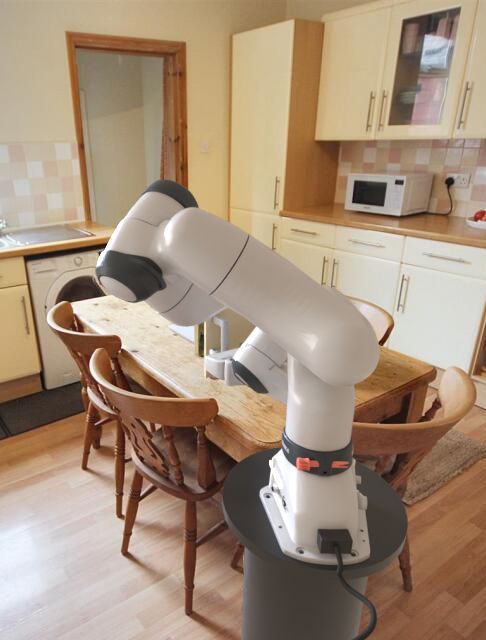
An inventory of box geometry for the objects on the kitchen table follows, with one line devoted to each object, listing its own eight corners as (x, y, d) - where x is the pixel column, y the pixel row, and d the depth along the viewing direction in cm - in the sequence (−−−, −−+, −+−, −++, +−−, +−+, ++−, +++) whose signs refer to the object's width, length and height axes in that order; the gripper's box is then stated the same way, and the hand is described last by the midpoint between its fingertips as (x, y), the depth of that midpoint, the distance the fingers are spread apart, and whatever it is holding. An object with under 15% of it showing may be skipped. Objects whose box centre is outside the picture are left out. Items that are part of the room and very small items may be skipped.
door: (293, 368, 138) (299, 282, 129) (216, 387, 128) (217, 296, 118) (278, 359, 144) (283, 277, 135) (204, 377, 134) (204, 290, 124)
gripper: (291, 346, 117) (258, 330, 128) (222, 363, 108) (194, 344, 120) (290, 369, 119) (257, 351, 131) (222, 387, 111) (194, 366, 122)
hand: (226, 348), depth 125 cm, fingers open, 8 cm apart
